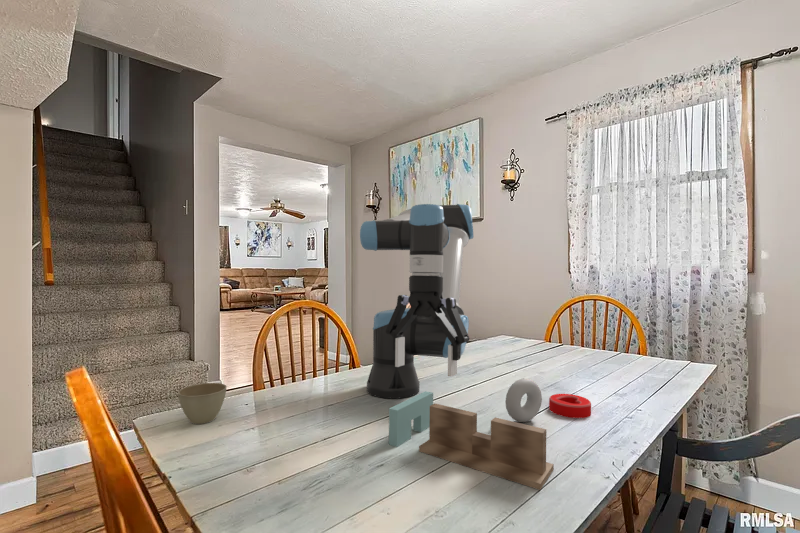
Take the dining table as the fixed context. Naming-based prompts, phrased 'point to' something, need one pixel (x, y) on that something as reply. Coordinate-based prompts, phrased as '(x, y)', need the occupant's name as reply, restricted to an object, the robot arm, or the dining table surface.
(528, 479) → the jig
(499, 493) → the dining table surface
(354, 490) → the dining table surface
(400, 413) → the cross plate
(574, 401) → the decorative ornament
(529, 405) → the donut
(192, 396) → the olive beige bowl
